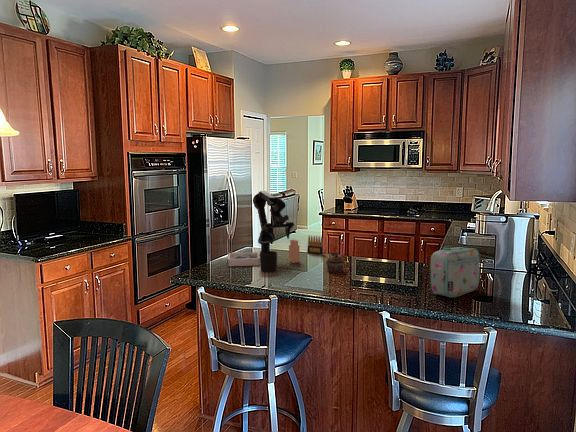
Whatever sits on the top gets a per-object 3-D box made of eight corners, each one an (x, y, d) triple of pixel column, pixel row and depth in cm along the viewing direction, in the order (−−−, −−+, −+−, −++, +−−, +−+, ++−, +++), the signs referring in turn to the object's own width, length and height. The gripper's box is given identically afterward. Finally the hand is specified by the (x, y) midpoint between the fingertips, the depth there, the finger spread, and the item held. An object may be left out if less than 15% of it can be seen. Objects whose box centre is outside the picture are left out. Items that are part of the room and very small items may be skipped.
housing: (228, 259, 267) (228, 253, 267) (258, 258, 269) (258, 252, 269) (228, 266, 249) (228, 259, 249) (259, 265, 252) (259, 258, 251)
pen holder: (276, 272, 235) (276, 254, 233) (259, 272, 235) (259, 254, 234) (277, 268, 244) (277, 251, 243) (260, 268, 244) (260, 250, 243)
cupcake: (346, 272, 236) (347, 253, 235) (331, 273, 233) (331, 255, 232) (338, 268, 245) (338, 250, 244) (323, 269, 242) (323, 251, 240)
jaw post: (288, 261, 262) (289, 240, 260) (295, 260, 264) (295, 239, 263) (293, 262, 258) (293, 241, 257) (299, 261, 261) (299, 240, 259)
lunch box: (447, 301, 185) (449, 252, 183) (426, 295, 193) (428, 248, 191) (481, 290, 201) (484, 245, 198) (461, 285, 209) (463, 241, 207)
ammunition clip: (323, 254, 283) (323, 236, 282) (322, 254, 282) (322, 236, 280) (308, 252, 288) (308, 234, 287) (307, 253, 287) (307, 235, 285)
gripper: (266, 211, 258) (271, 235, 253) (295, 209, 266) (300, 233, 261) (260, 218, 267) (265, 242, 262) (288, 216, 275) (293, 239, 270)
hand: (281, 239), depth 264 cm, fingers open, 9 cm apart
